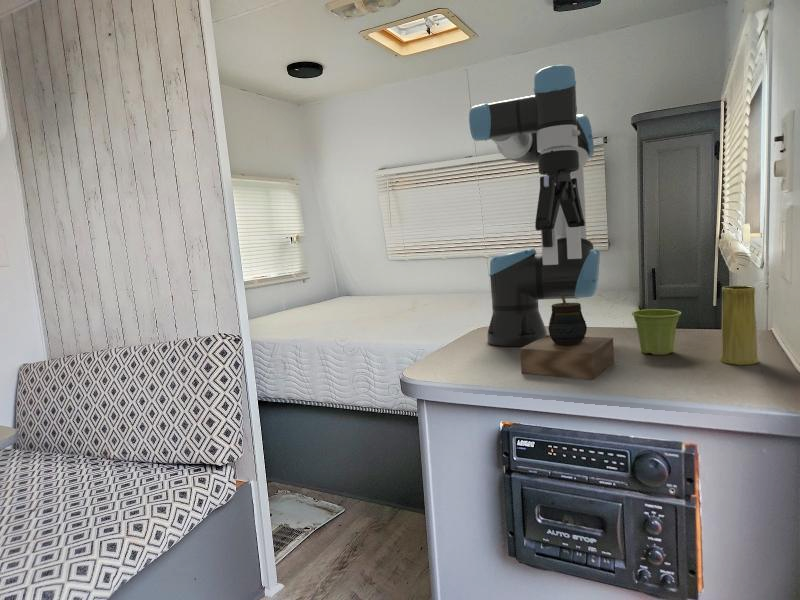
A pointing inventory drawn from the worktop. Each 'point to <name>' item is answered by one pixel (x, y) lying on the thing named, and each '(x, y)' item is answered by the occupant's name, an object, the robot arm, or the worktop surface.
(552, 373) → the walnut block
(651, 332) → the plant pot
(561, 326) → the mate gourd
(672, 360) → the worktop surface
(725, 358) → the vase
